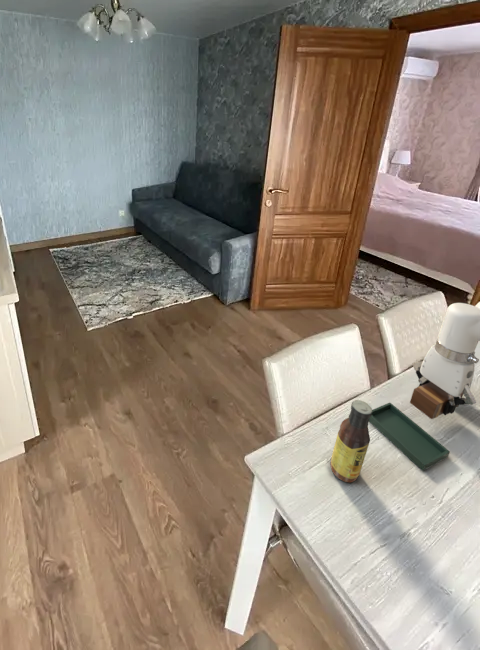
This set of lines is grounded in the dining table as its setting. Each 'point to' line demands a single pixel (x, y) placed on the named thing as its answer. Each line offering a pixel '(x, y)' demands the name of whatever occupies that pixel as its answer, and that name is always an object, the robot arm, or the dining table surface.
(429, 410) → the walnut box
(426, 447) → the tray
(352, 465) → the sauce bottle
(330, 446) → the dining table surface
